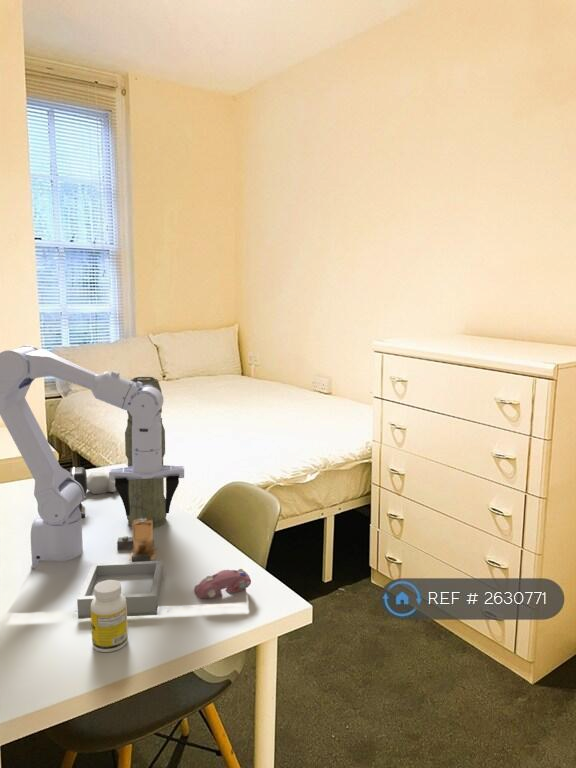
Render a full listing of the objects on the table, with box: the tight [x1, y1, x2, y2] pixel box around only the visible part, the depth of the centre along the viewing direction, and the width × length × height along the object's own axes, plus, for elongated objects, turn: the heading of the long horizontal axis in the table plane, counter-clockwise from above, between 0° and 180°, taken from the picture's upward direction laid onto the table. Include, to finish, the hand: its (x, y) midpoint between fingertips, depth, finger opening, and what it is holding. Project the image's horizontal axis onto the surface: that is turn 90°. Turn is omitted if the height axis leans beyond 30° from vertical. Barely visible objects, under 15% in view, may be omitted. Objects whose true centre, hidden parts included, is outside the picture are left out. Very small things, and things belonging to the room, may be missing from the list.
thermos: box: [124, 376, 168, 529], centre depth 135 cm, size 9×12×35 cm
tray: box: [76, 560, 164, 619], centre depth 108 cm, size 13×13×4 cm
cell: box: [131, 518, 154, 556], centre depth 121 cm, size 4×4×8 cm
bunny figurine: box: [87, 471, 118, 495], centre depth 160 cm, size 10×5×15 cm
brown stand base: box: [116, 535, 157, 562], centre depth 121 cm, size 12×10×4 cm
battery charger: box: [69, 466, 88, 519], centre depth 144 cm, size 7×4×11 cm, turn 18°
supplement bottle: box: [90, 579, 129, 653], centre depth 93 cm, size 5×5×10 cm
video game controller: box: [193, 568, 252, 599], centre depth 108 cm, size 10×5×7 cm, turn 118°
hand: (147, 512), depth 120 cm, fingers open, 7 cm apart
